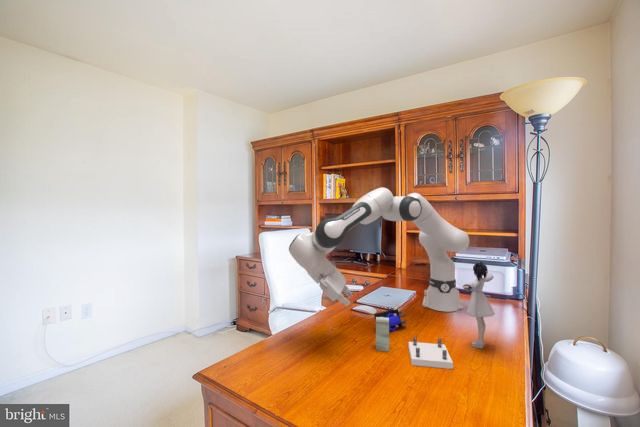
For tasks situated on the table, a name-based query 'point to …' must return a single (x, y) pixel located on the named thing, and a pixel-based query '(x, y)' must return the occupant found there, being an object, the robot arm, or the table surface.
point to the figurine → (479, 301)
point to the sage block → (382, 334)
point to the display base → (430, 354)
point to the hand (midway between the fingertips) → (349, 300)
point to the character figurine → (392, 318)
